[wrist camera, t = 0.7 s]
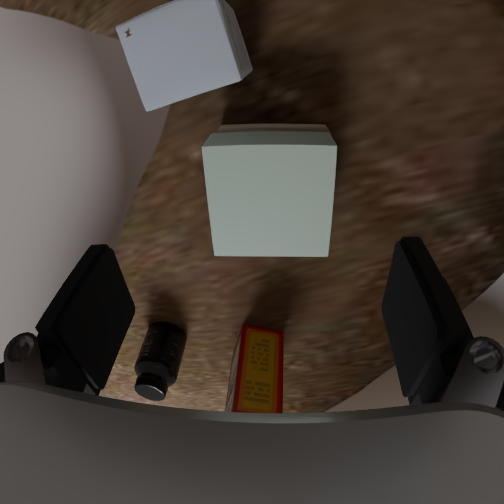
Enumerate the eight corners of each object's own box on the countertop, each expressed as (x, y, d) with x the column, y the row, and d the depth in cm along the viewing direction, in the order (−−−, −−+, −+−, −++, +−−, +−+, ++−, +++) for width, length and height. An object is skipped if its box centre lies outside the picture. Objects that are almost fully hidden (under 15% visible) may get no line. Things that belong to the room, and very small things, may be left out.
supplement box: (187, 91, 31) (142, 115, 20) (167, 29, 27) (111, 24, 16) (255, 71, 29) (243, 83, 19) (236, 7, 25) (212, -17, 15)
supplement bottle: (152, 344, 55) (134, 400, 45) (144, 318, 51) (122, 377, 41) (189, 348, 55) (175, 407, 45) (184, 322, 51) (166, 384, 41)
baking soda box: (268, 364, 56) (263, 446, 43) (232, 358, 55) (221, 439, 42) (283, 331, 50) (282, 422, 37) (242, 324, 50) (231, 415, 37)
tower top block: (211, 133, 29) (201, 146, 26) (329, 132, 28) (337, 145, 25) (221, 231, 36) (214, 255, 32) (322, 232, 35) (327, 256, 31)
